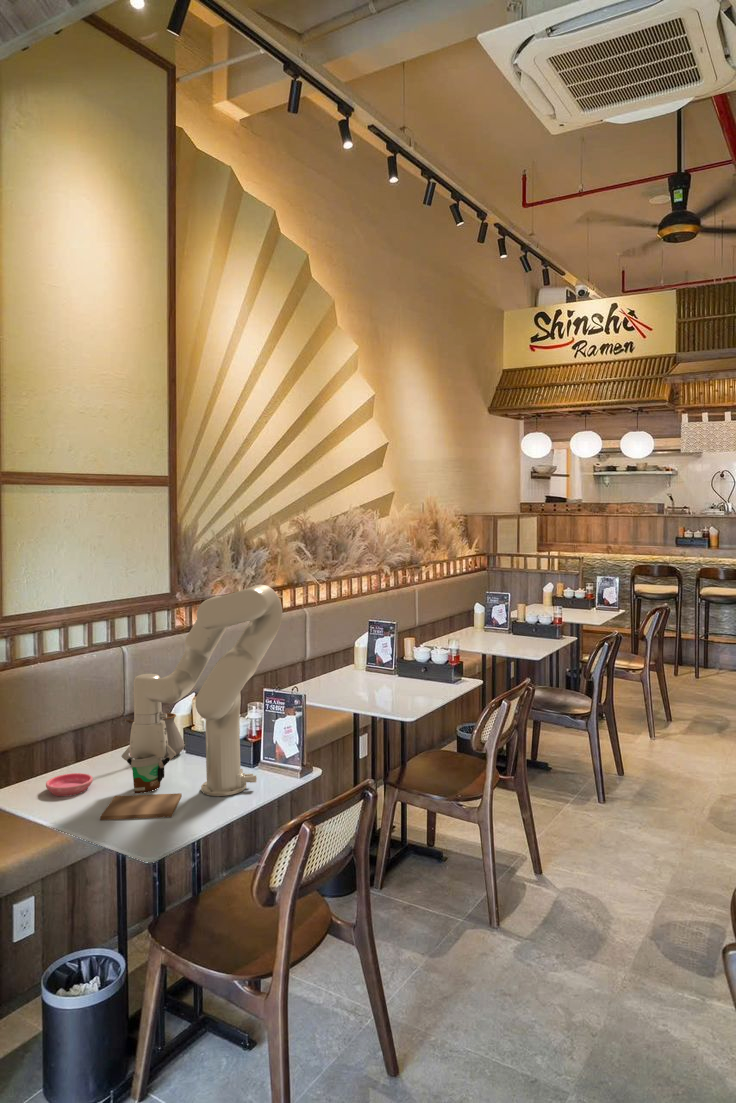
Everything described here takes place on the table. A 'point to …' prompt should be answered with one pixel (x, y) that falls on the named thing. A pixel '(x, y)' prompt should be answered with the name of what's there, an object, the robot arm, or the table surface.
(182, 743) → the coffee pot
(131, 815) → the walnut board
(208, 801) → the table surface
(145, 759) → the food container
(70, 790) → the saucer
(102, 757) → the table surface
